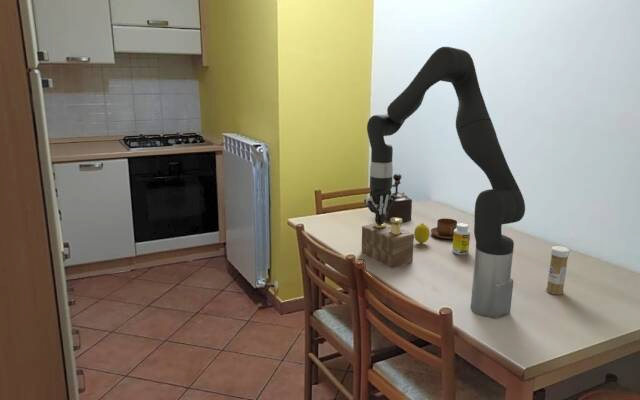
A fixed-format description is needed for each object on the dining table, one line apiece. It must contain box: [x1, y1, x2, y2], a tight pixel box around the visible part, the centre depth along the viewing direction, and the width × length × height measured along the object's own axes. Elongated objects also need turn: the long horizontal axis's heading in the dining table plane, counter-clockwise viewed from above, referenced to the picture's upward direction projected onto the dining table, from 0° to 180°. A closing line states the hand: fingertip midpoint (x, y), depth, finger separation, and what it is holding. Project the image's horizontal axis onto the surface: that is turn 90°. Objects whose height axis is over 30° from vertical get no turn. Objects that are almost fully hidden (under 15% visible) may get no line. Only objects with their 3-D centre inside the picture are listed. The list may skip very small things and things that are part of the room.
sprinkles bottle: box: [546, 245, 570, 295], centre depth 141 cm, size 5×5×13 cm
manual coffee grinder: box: [384, 173, 413, 223], centre depth 214 cm, size 16×11×18 cm
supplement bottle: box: [452, 222, 471, 256], centre depth 172 cm, size 6×6×10 cm
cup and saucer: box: [430, 217, 458, 240], centre depth 190 cm, size 12×12×6 cm
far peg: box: [373, 222, 387, 229], centre depth 170 cm, size 4×4×10 cm
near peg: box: [389, 218, 403, 235], centre depth 163 cm, size 4×4×10 cm
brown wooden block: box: [361, 222, 415, 269], centre depth 167 cm, size 16×9×10 cm, turn 35°
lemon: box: [413, 222, 431, 245], centre depth 181 cm, size 6×6×8 cm
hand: (379, 223), depth 169 cm, fingers closed
